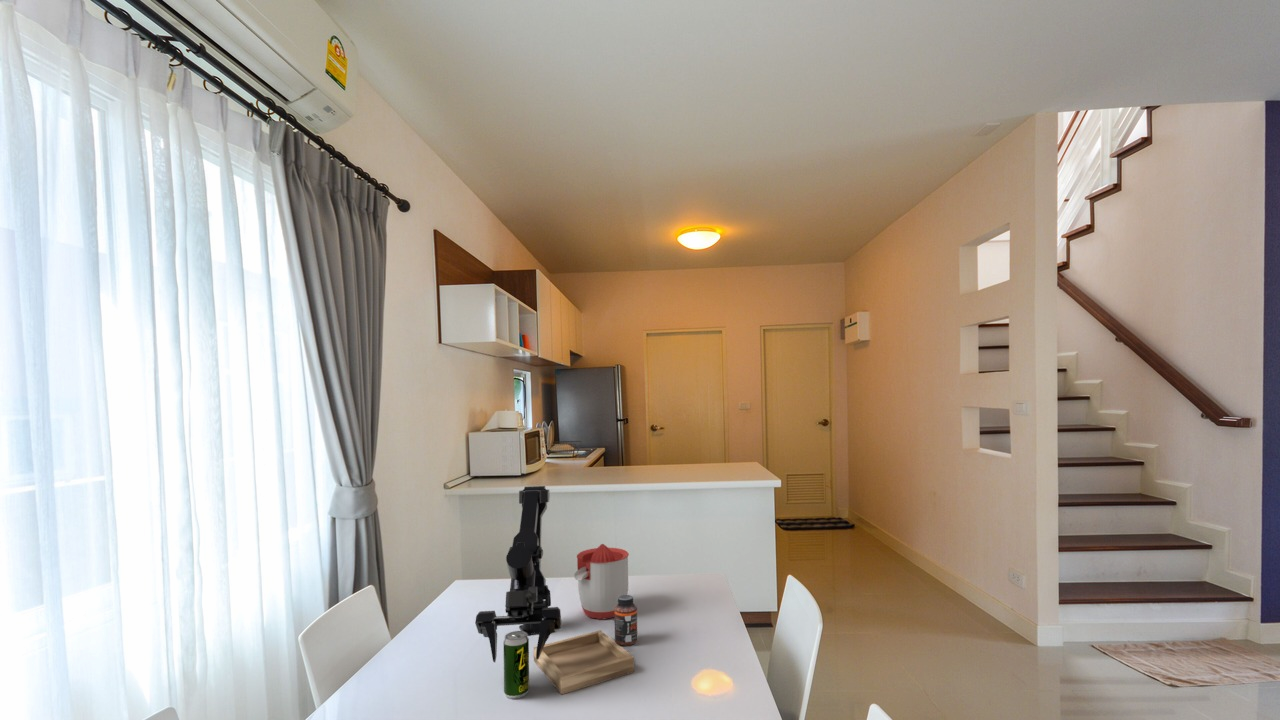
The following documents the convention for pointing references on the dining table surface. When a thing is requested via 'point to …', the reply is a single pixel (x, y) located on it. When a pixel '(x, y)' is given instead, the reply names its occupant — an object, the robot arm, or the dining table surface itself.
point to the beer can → (516, 664)
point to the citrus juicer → (601, 580)
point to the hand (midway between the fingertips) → (515, 660)
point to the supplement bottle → (625, 621)
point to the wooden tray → (583, 661)
